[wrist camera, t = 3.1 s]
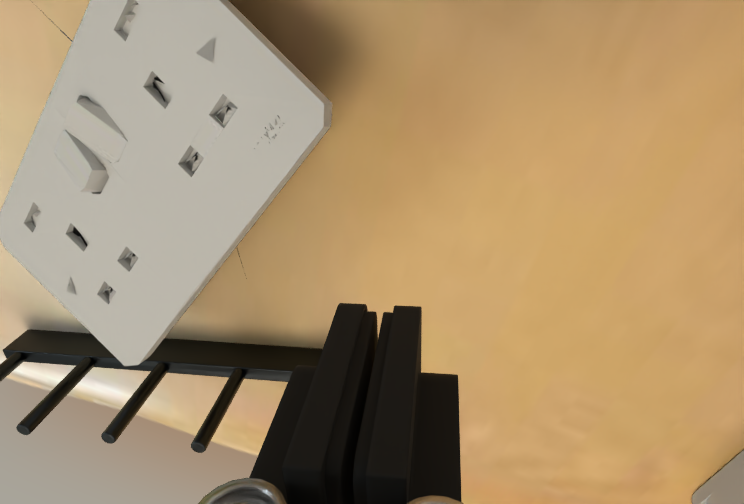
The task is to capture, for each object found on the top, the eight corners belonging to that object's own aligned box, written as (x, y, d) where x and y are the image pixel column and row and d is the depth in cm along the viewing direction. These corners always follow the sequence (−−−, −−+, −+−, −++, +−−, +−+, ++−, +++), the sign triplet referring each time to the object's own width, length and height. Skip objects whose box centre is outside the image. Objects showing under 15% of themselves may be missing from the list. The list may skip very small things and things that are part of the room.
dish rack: (331, -180, 17) (261, -273, 11) (363, 362, 28) (338, 468, 22) (-324, -117, 21) (-642, -158, 15) (-71, 332, 32) (-194, 414, 26)
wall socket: (216, 366, 28) (172, 411, 24) (-4, 215, 28) (-80, 238, 25) (382, 68, 20) (354, 69, 16) (74, -137, 20) (-20, -180, 17)
